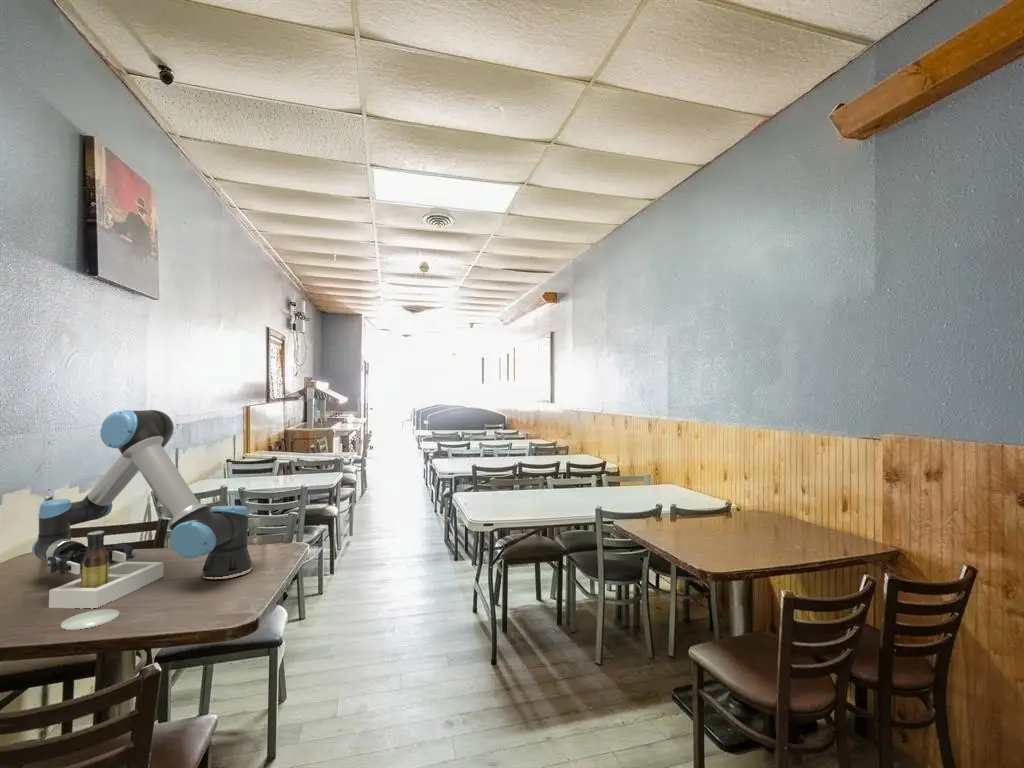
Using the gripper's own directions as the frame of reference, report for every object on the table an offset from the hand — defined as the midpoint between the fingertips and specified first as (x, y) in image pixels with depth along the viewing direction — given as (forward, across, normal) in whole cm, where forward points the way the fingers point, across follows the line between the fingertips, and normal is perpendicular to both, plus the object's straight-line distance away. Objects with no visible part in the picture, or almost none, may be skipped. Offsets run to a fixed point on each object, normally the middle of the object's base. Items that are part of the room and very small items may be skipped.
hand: (102, 563), depth 146 cm
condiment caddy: (-7, -5, -11) cm, 14 cm away
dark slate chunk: (-46, -18, -12) cm, 50 cm away
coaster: (+13, +8, -11) cm, 18 cm away
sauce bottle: (-4, 0, -11) cm, 12 cm away
